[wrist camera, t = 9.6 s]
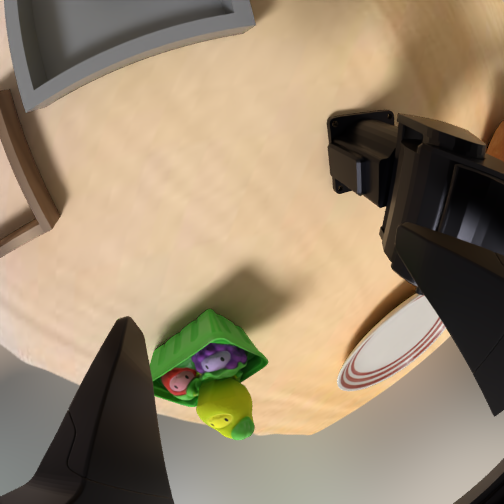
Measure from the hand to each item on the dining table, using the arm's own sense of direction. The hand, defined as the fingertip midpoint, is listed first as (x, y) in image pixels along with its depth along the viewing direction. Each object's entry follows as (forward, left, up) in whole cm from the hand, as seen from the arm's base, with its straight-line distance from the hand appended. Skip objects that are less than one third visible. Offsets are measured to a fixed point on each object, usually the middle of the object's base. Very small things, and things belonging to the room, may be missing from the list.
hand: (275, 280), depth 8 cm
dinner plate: (-22, +35, -13) cm, 44 cm away
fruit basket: (+7, +18, -13) cm, 24 cm away
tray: (+3, -15, -13) cm, 20 cm away
